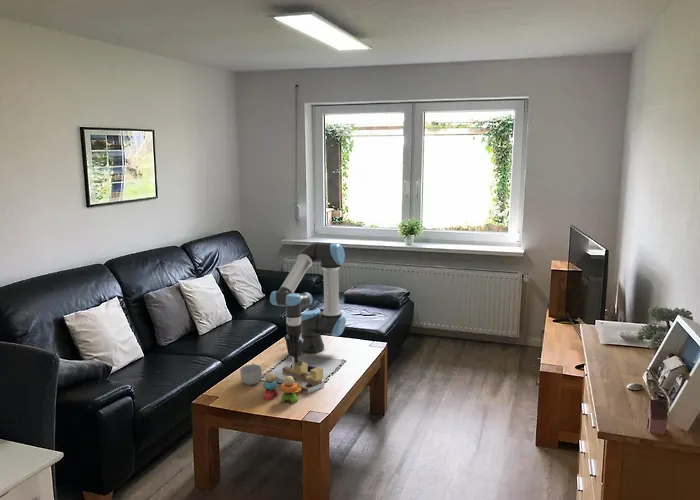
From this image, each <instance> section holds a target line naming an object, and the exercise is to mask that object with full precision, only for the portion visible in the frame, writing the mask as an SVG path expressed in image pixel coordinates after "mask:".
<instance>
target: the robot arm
mask: <svg viewBox="0 0 700 500" xmlns="http://www.w3.org/2000/svg"><path fill="white" fill-rule="evenodd" d="M345 253H346V252H345V249H344V248H343V246H342V244H340V243H335V242H319V241H317V242H313V243H310V244H308V245H306V247H304V248H302V250H301V251H300V253H299V254H298V255H297V257H296V262H295V264H294V265H293V266H292V268H291V269H290V272H289V273H288V275H287V276H286V278H285V279H284V281H283V283H282V285H281V286H280V288H278V290H273V291H271V293H270V295H269V301H270V304H272V305H273V306H278V307H279V306H280V307H285V314H286V315H285V317H286V333H287V334H284V337H283V338H284V340H285V344H286V349H287V350H286V351H287V353H288V354H287V355H290V358H291V359H290V361H291V368H292V369H294V363H297V362H299V357H301V356H302V353H305V354H317V353H321V352H322V351H323V352H324V350H325V343H324V341H323V338H322V335H326V336H337V337H338V336H341V335H342V334H343V332H344V330H345V327H346V317H345V316H344V315H343V314H342V313H343V311H341V310H340V298H339V297H340V288H339V287H340V285H339V281H340V280H339V269H341V268H342V265H343V264H344V262H345V259H346V254H345ZM316 263H318V264H320V268H321V269H322V270H323V308H324V309H323V311H321V310H319V309H312V310H306V311H304V312H302V310H304V309H306V308H308V307H310V306H311V305H312V303H313V301H314V300H313V296H312V294H311V293H309V292H307V291H306V292H305V291H303V292H302V293H300V292H299V293H296V292H295V291H296V290H297V287H298V286H299V284H300V283H301V281H302V279H303V277H304V276H305V274H306V273H307V271H308V269H309V268H310V267H312V266H313V264H316Z"/></svg>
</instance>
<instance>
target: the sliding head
mask: <svg viewBox="0 0 700 500" xmlns="http://www.w3.org/2000/svg"><path fill="white" fill-rule="evenodd" d="M308 370H309V365H308V362H305V361H303V359H298V362H297V363H294V369H293V370H291V371H289V373H292V377H293V379H294V373H297V374H299V375H302V374H304V373H307V374H308V373H309V371H308Z"/></svg>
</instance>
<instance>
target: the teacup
mask: <svg viewBox="0 0 700 500" xmlns="http://www.w3.org/2000/svg"><path fill="white" fill-rule="evenodd" d="M239 373H240V379H241V381H242V383H244V384H245V385H247V386H253V385H254V386H255V385H257V384H258V383H259V382H260V381H261V380H262V377H263V375H262V365H260V364H256V363H254V362H253V363H251V364H248V365H244V366H241V367H240V368H239Z"/></svg>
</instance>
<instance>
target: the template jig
mask: <svg viewBox="0 0 700 500" xmlns="http://www.w3.org/2000/svg"><path fill="white" fill-rule="evenodd" d="M291 370H293V369H292V367H290V366H284V367H282V370H281V371H279V372H277V373H273V374H274V375H275V379H274V380H275V381H277V382H276V383H280V384H281V383H282V384H283V383H284V379H285V378H286V377H287V376H291V377H292V373H289V371H291ZM309 372H310V373H308V372H307V373H304V374H302V375H299V374H297V373H294V383H296V384H297V386H299V387H301V392H302V393H305V394H307V395H310V394H312V393H313V392H316V391H318V390H320V389H323V388H325V382H324V381H323V379H324V368H322V367H321V368H320V367H318V366H317V367H314V368H312V369H310V370H309ZM282 384H281V385H282Z"/></svg>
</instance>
